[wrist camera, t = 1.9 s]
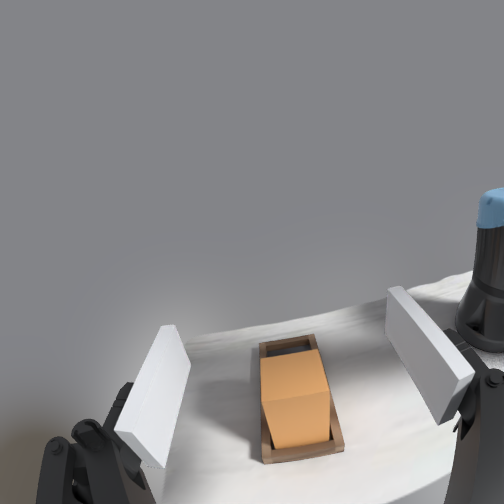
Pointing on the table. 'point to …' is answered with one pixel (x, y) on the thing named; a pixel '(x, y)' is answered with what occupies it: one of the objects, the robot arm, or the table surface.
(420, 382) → the robot arm
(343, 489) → the table surface
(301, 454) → the brown wooden rectangular frame
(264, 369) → the block
